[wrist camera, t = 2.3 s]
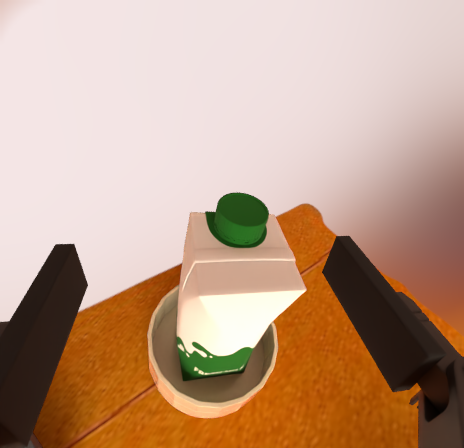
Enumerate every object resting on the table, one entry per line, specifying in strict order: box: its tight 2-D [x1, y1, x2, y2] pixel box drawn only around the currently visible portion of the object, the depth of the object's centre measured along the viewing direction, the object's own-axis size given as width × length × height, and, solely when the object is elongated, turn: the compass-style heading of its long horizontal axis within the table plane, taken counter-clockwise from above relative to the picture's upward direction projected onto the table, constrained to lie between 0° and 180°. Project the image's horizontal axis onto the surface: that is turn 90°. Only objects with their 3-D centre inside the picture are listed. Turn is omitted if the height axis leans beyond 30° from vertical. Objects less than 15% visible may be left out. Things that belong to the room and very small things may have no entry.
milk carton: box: [176, 193, 306, 381], centre depth 25 cm, size 9×9×20 cm
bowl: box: [147, 284, 278, 418], centre depth 30 cm, size 14×14×4 cm
